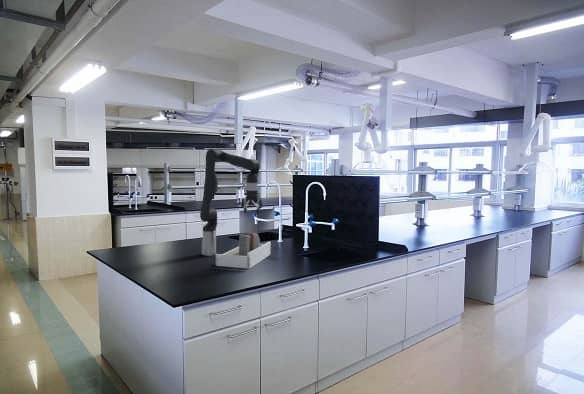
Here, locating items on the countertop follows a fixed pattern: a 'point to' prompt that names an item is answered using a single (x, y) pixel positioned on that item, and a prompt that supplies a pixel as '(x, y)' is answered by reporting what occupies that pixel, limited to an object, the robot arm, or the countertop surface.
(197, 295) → the countertop surface
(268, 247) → the white open box
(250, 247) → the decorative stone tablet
